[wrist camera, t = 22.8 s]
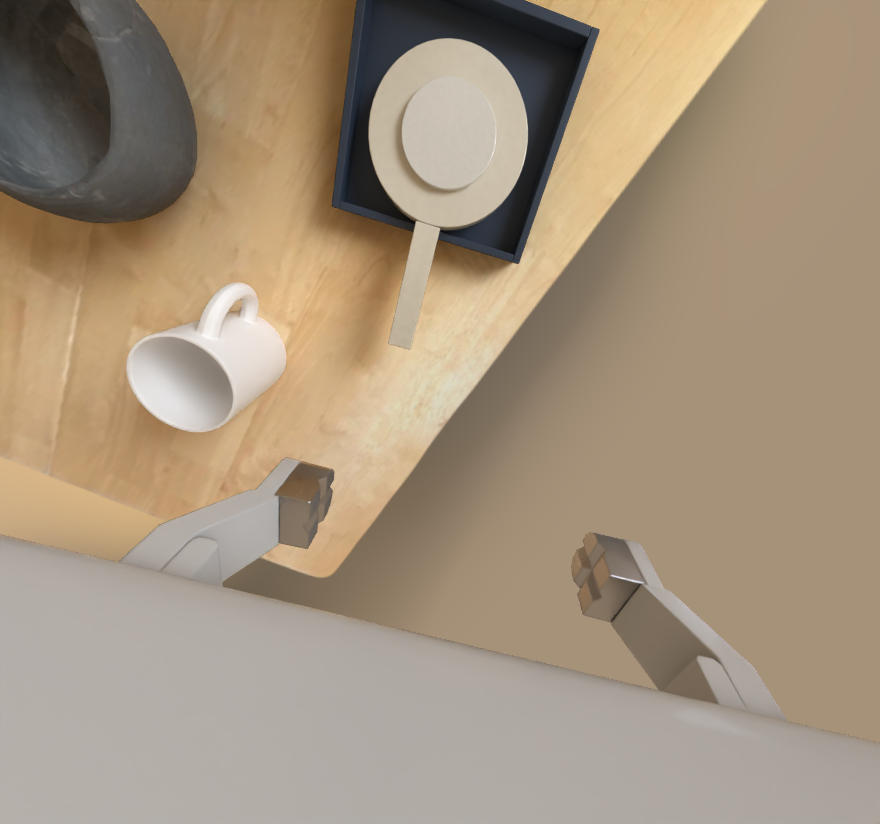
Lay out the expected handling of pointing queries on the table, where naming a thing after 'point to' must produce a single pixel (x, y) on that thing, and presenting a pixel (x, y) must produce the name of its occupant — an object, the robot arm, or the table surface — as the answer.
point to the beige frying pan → (444, 151)
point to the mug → (208, 363)
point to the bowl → (91, 111)
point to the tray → (522, 53)
